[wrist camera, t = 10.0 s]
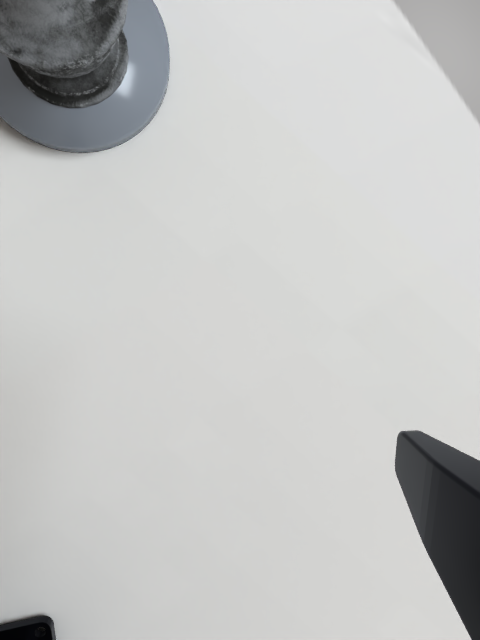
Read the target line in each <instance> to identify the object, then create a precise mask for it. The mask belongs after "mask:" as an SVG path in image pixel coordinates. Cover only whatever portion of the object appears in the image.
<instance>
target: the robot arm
mask: <svg viewBox="0 0 480 640" xmlns="http://www.w3.org/2000/svg"><path fill="white" fill-rule="evenodd" d="M395 471H396V475H397V478H398V480H399V483H400V486H401V488H402V491H403V493H404V496H405V499H406V501H407V504H408V506H409V509H410V512H411V514H412V517H413V519H414V522H415V525H416V527H417V530H418V532H419V535H420V537H421V540H422V542H423V544H424V546H425V548H426V551H427V553H428V555H429V557H430V559H431V561H432V563H433V565H434V567H435V569H436V571H437V573H438V574H439V576H440V578H441V580H442V582H443V584H444V586H445V588H446V590H447V592H448V594H449V596H450V598H451V600H452V602H453V604H454V606H455V608H456V610H457V612H458V614H459V616H460V618H461V620H462V622H463V624H464V626H465V627H466V629H467V631H468V633H469V635H470V637H471V639H472V640H480V461H479V460H477V459H475V458H473V457H471V456H469V455H467V454H465V453H463V452H461V451H459V450H457V449H455V448H453V447H451V446H449V445H447V444H445V443H443V442H441V441H439V440H437V439H435V438H433V437H431V436H429V435H427V434H425V433H423V432H421V431H417V430H415V431H401V432H400V433H399V434H398V437H397V446H396V457H395ZM39 627H43V628H45V630H44V631H41V630H39V629H38V628H39ZM0 640H56V636H55V629H54V623H53V620H52V619H51V618H50V617H48V616H39V617H35V618H30V619H26V620H22V621H17V622H13V623H8V624H4V625H0Z"/></svg>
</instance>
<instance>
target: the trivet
mask: <svg viewBox="0 0 480 640" xmlns="http://www.w3.org/2000/svg"><path fill="white" fill-rule="evenodd" d="M122 29H123V32H124V34H125V37H126V40H127V46H128V55H129V59H128V66H127V72H126V74H125V76H124V79H123V81H122V83H121V85H120V86H119V87H118V88H117V90H116V91H115V92H114V93H113V94H112V95H111V96H110V97H108V98H107V99H105V100H104V101H102V102H100V103H99V104H96V105H92V106H89V107H85V108H66V107H61V106H57V105H53V104H51V103H49V102H47V101H45V100H43V99H41V98H39V97H37V96H36V95H34V94H33V93H32V92H31V91H30V90H29V89H27V88H26V87H25V86H24V85H23V84H22V82H21V81H20V80H19V78H18V77H17V75H16V74H15V73H14V71H13V70H12V67H11V65H10V62H9V60H8V57H7V56H5V55H3V54H1V53H0V117H1V118H2V119H3V120H4V121H5V122H6V123H7V124H9V125H10V126H11V127H12V128H13V129H15V130H16V131H18V132H19V133H20V134H22V135H23V136H25V137H27V138H29V139H31V140H32V141H34V142H37V143H39V144H42V145H44V146H46V147H50V148H53V149H57V150H61V151H68V152H84V153H86V152H96V151H101V150H105V149H110V148H112V147H115V146H118V145H120V144H122V143H124V142H126V141H128V140H130V139H131V138H133V137H134V136H135V135H137V134H138V133H139V132H141V131H142V130H143V129H144V128H145V127H146V126H147V125H148V124H149V123H150V121H151V120H152V119H153V117H154V116H155V115H156V113H157V111H158V110H159V108H160V106H161V104H162V102H163V99H164V96H165V94H166V90H167V85H168V81H169V69H170V58H169V44H168V38H167V33H166V29H165V26H164V23H163V20H162V18H161V15H160V13H159V11H158V9H157V7H156V5H155V3H154V2H153V0H128V7H127V14H126V20H125V24H124V26H123V28H122Z"/></svg>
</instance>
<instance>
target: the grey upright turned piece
mask: <svg viewBox="0 0 480 640" xmlns="http://www.w3.org/2000/svg"><path fill="white" fill-rule="evenodd" d="M127 7H128V0H0V53H1V54H3V55H5V56H7V57H8V60H9V62H10V65H11V67H12V70H13V71H14V73H15V74H16V75H17V77H18V78H19V80H20V81H21V82H22V84H23V85H24V86H25V87H26V88H27V89H29V90H30V91H31V92H32V93H33V94H34V95H36V96H37V97H39V98H41V99H43V100H45V101H47V102H49V103H51V104H53V105H57V106H61V107H66V108H85V107H89V106H92V105H96V104H99V103H100V102H102V101H104V100H105V99H107V98H108V97H110V96H111V95H112V94H113V93H114V92H115V91H116V90H117V88H118V87H119V86H120V85H121V83H122V81H123V79H124V76H125V74H126V72H127V66H128V59H129V55H128V46H127V40H126V37H125V34H124V32H123V29H122V28H123V26H124V24H125V20H126V14H127Z"/></svg>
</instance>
